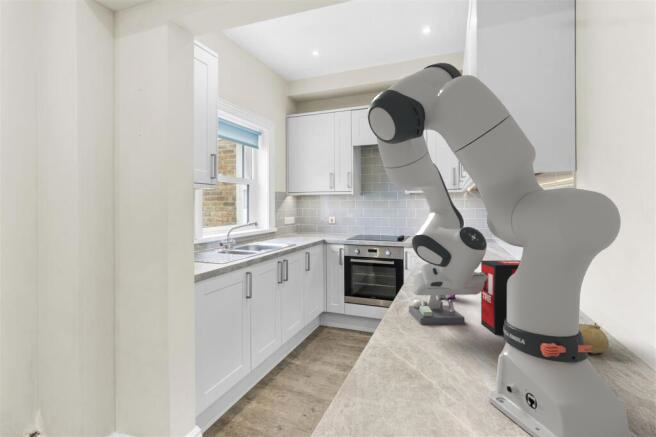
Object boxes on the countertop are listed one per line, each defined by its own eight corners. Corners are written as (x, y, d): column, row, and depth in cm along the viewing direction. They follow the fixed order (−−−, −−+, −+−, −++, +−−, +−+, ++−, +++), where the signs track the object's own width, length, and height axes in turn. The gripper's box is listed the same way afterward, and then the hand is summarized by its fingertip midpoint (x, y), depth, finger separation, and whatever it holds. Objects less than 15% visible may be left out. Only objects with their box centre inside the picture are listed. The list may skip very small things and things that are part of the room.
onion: (589, 359, 76) (590, 329, 76) (559, 345, 84) (559, 318, 84) (617, 355, 78) (617, 327, 78) (584, 342, 86) (585, 316, 85)
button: (422, 307, 110) (422, 301, 110) (414, 307, 110) (414, 302, 110) (420, 305, 113) (420, 299, 113) (412, 305, 113) (412, 299, 113)
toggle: (455, 313, 103) (453, 299, 105) (450, 313, 103) (448, 299, 105) (454, 313, 104) (452, 300, 106) (449, 313, 104) (446, 300, 106)
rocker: (432, 315, 101) (432, 311, 101) (423, 316, 101) (423, 312, 101) (427, 310, 105) (428, 306, 105) (419, 310, 105) (419, 306, 105)
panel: (464, 323, 101) (464, 308, 101) (420, 324, 100) (420, 309, 100) (447, 310, 114) (447, 297, 114) (408, 311, 113) (408, 298, 113)
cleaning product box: (534, 324, 100) (535, 260, 99) (554, 335, 91) (554, 265, 91) (481, 324, 100) (481, 260, 100) (495, 334, 91) (495, 265, 91)
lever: (439, 310, 108) (446, 282, 102) (427, 311, 108) (434, 282, 102) (437, 305, 110) (443, 277, 104) (425, 306, 110) (431, 277, 104)
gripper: (485, 263, 94) (469, 289, 104) (416, 264, 93) (407, 289, 103) (494, 282, 89) (476, 306, 99) (421, 283, 89) (411, 307, 99)
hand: (440, 298), depth 101 cm, fingers closed
